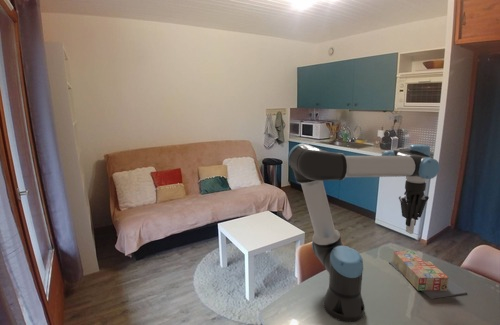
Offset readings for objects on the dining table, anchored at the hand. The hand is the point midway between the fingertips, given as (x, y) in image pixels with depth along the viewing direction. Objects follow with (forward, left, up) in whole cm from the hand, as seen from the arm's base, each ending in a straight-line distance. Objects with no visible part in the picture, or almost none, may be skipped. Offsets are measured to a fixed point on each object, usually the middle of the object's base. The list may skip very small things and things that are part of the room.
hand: (409, 232), depth 120 cm
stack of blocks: (-1, 0, -18) cm, 18 cm away
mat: (+9, -2, -22) cm, 24 cm away
